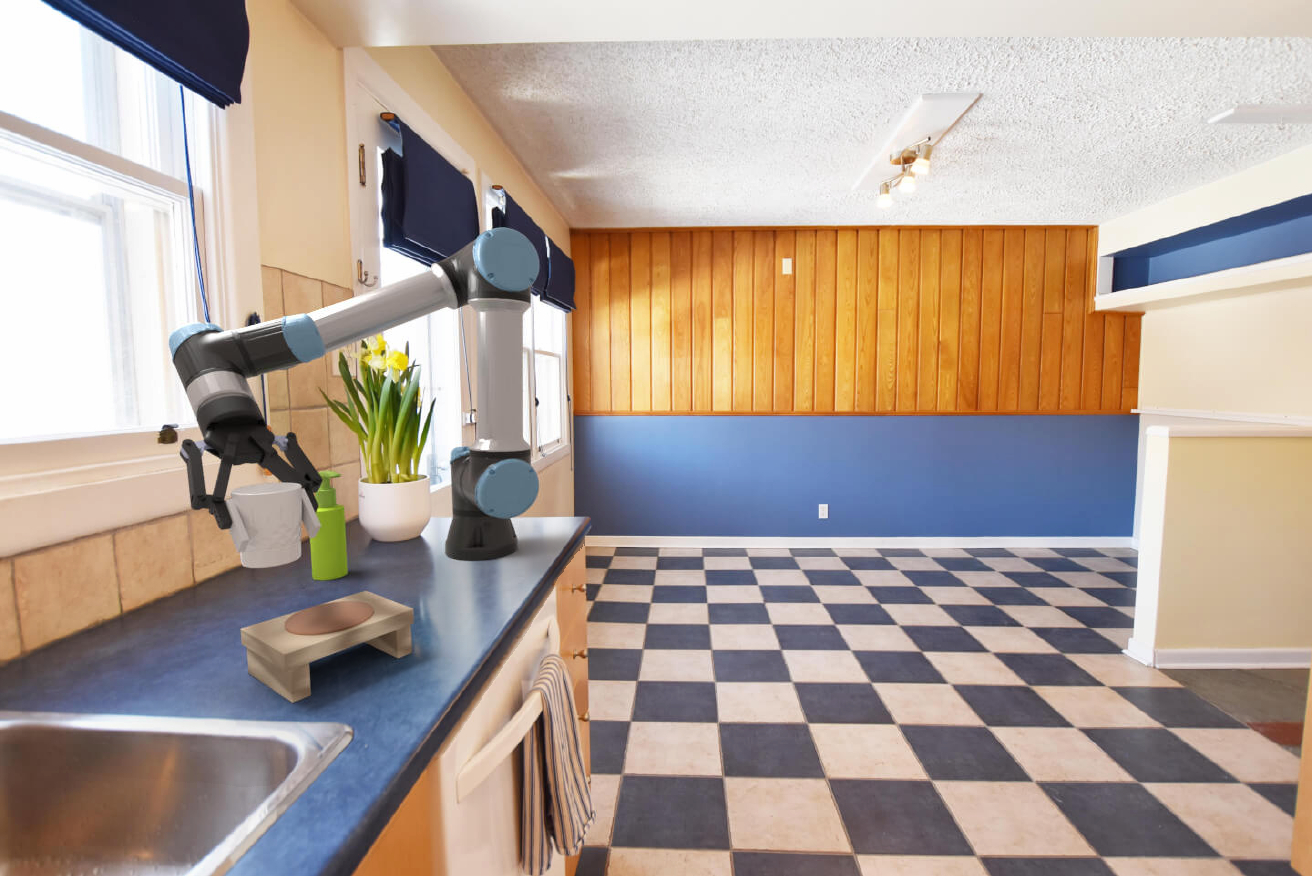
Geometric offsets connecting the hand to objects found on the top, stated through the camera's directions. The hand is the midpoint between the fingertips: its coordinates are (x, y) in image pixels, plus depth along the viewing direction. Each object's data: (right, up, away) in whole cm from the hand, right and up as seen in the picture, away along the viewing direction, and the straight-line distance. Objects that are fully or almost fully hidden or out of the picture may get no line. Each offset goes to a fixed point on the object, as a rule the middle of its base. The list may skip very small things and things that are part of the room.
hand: (281, 538), depth 76 cm
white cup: (-3, -4, +2) cm, 5 cm away
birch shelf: (+7, -16, 0) cm, 18 cm away
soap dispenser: (-12, -13, +34) cm, 38 cm away
